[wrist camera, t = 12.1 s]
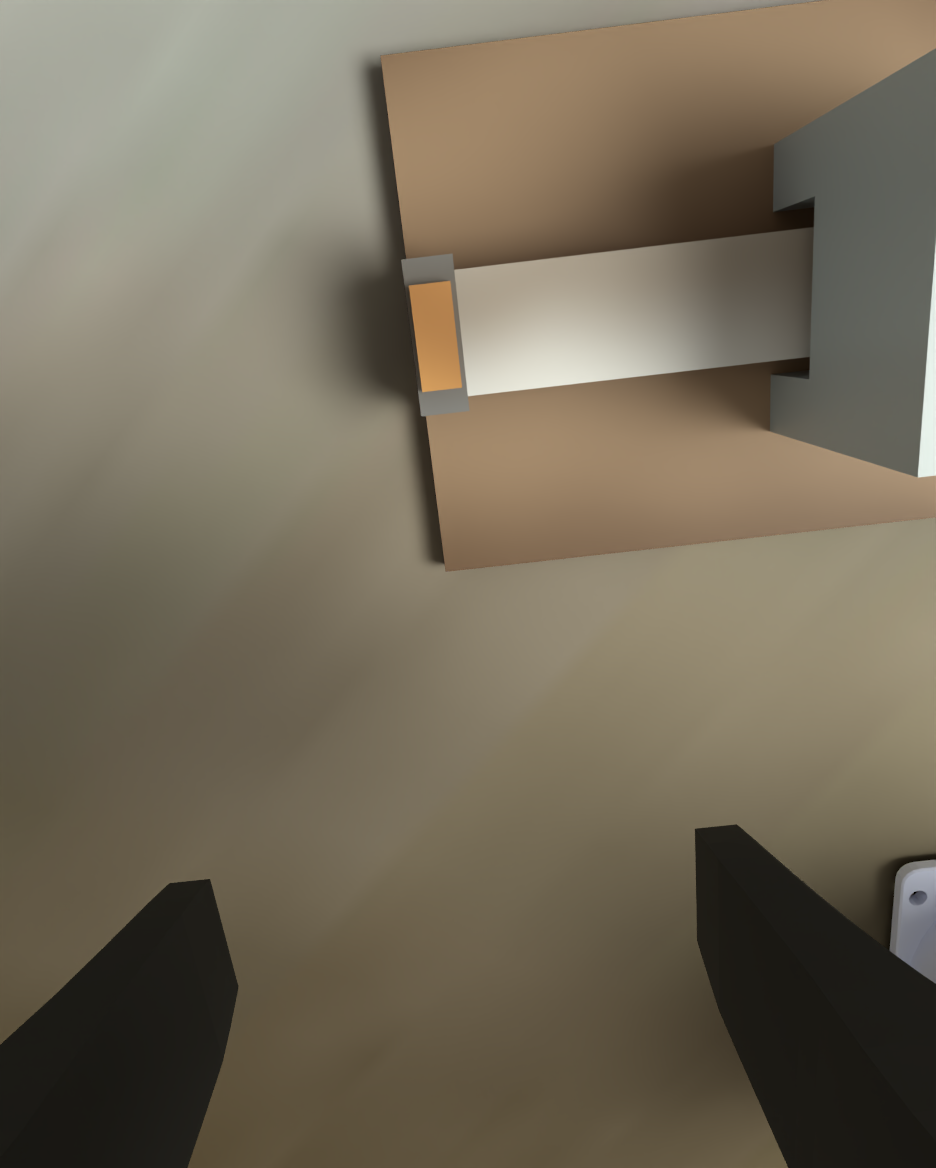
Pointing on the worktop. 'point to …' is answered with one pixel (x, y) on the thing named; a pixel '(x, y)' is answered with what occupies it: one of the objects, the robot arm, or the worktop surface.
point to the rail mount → (627, 278)
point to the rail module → (867, 275)
